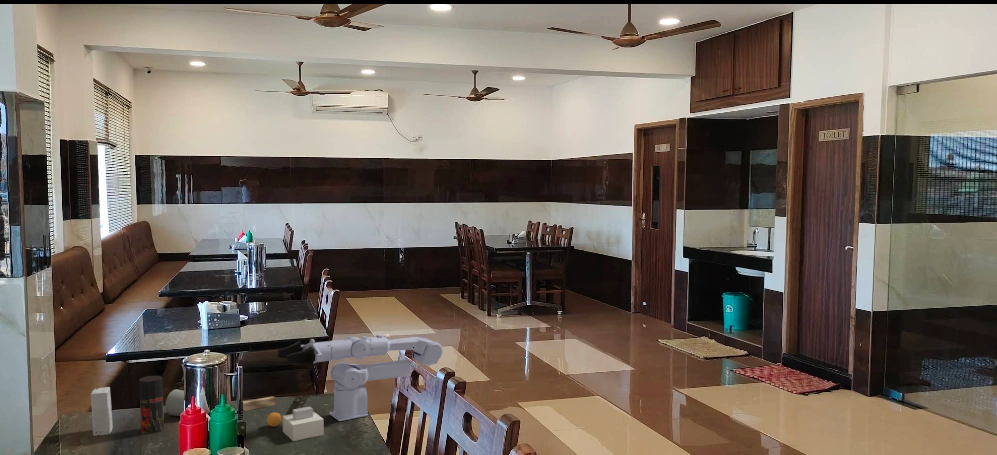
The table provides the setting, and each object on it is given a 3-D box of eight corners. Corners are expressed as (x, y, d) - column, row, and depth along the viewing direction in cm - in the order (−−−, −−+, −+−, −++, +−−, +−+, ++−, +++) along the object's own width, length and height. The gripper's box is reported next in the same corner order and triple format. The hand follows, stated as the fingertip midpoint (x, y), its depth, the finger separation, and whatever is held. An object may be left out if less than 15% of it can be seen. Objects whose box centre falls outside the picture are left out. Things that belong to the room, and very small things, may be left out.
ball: (279, 422, 218) (278, 409, 217) (283, 426, 215) (283, 413, 214) (265, 425, 216) (265, 412, 215) (269, 429, 212) (269, 416, 212)
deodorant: (167, 429, 211) (165, 378, 210) (146, 435, 207) (144, 382, 206) (158, 424, 215) (157, 374, 214) (137, 429, 211) (135, 378, 210)
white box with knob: (312, 425, 216) (312, 402, 215) (323, 434, 208) (323, 410, 208) (282, 431, 211) (282, 407, 210) (293, 441, 204) (292, 416, 203)
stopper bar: (273, 404, 235) (273, 396, 234) (275, 405, 233) (275, 397, 233) (234, 410, 228) (234, 403, 228) (236, 412, 227) (236, 404, 226)
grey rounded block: (189, 420, 219) (188, 395, 219) (164, 418, 221) (164, 393, 220) (210, 409, 229) (210, 385, 229) (187, 407, 231) (186, 383, 231)
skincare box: (109, 434, 207) (108, 392, 206) (91, 436, 206) (90, 394, 205) (113, 427, 213) (111, 386, 212) (95, 429, 212) (93, 387, 211)
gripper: (318, 333, 225) (274, 338, 217) (337, 342, 213) (291, 347, 205) (318, 356, 225) (274, 361, 218) (337, 366, 214) (291, 372, 206)
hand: (282, 356), depth 211 cm, fingers open, 7 cm apart
